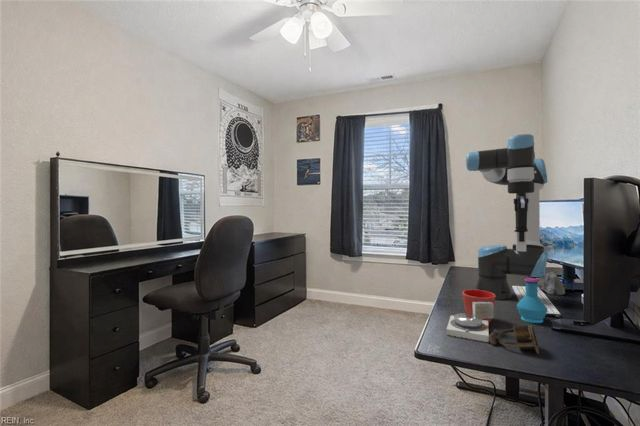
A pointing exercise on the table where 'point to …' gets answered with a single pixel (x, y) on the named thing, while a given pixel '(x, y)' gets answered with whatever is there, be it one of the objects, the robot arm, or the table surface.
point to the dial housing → (468, 331)
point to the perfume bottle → (531, 303)
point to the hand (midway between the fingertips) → (521, 251)
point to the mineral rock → (551, 284)
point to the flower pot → (477, 299)
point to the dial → (475, 315)
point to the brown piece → (518, 338)
